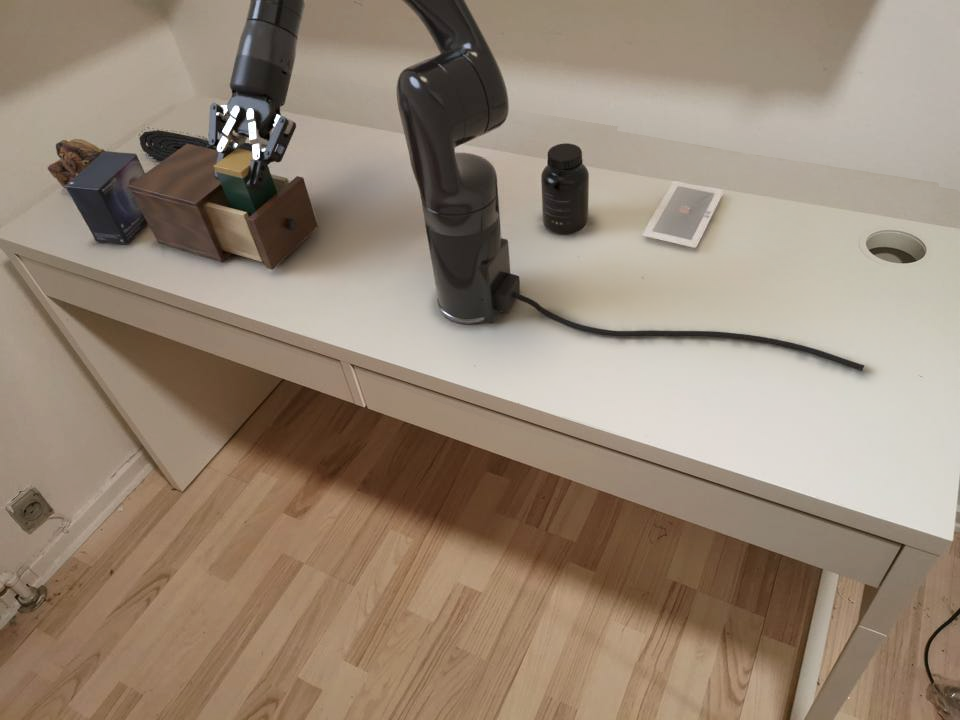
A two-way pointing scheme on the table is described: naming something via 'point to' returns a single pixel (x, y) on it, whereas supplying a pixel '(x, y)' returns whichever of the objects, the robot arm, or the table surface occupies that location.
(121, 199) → the small box
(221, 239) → the drawer
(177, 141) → the hairbrush
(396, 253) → the table surface
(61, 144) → the wooden carving
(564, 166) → the supplement bottle
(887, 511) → the table surface
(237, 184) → the tea tin
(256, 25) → the robot arm
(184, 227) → the cabinet
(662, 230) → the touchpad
